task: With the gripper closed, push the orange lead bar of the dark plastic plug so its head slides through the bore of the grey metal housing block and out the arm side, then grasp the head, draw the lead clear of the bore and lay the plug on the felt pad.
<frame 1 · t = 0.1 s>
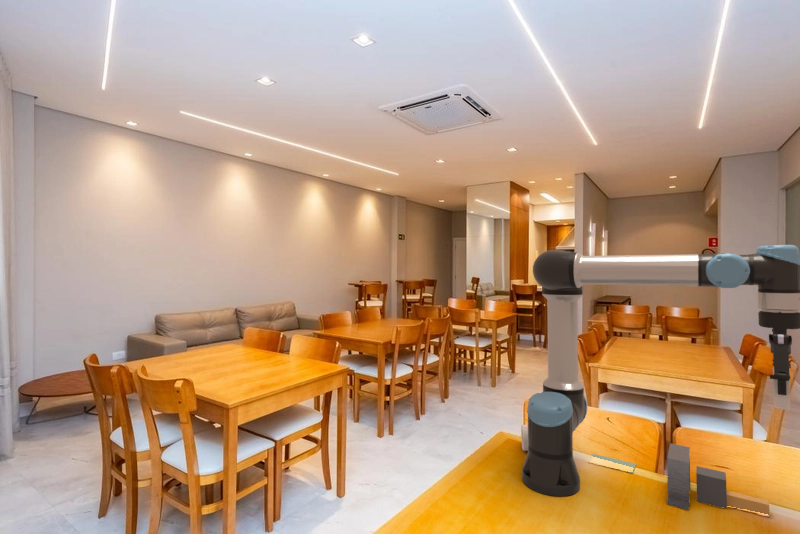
hand: (781, 401, 97), 28 cm above the table, fingers open, 13 cm apart
pad: (611, 463, 126), on the table
housing: (679, 492, 110), on the table
mug: (537, 448, 138), on the table
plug: (711, 500, 106), on the table
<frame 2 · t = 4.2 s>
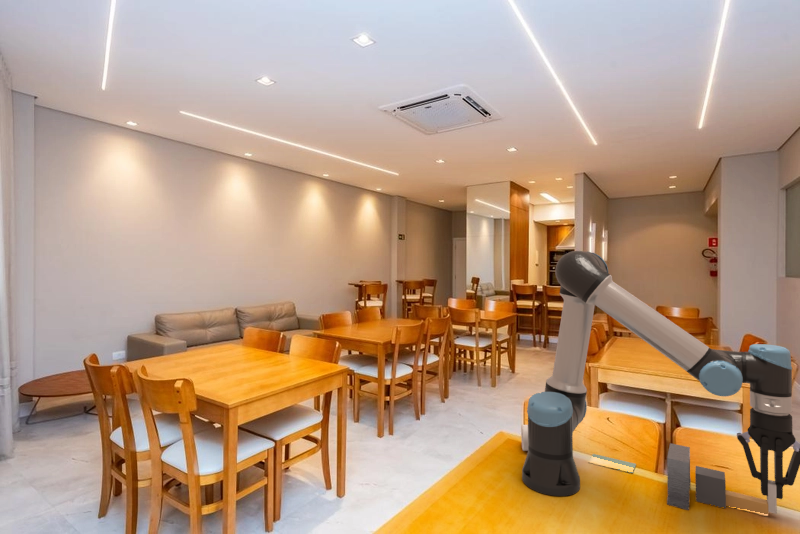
hand: (771, 509, 99), 1 cm above the table, fingers closed
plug: (710, 500, 106), on the table, touching gripper
everything else where it was.
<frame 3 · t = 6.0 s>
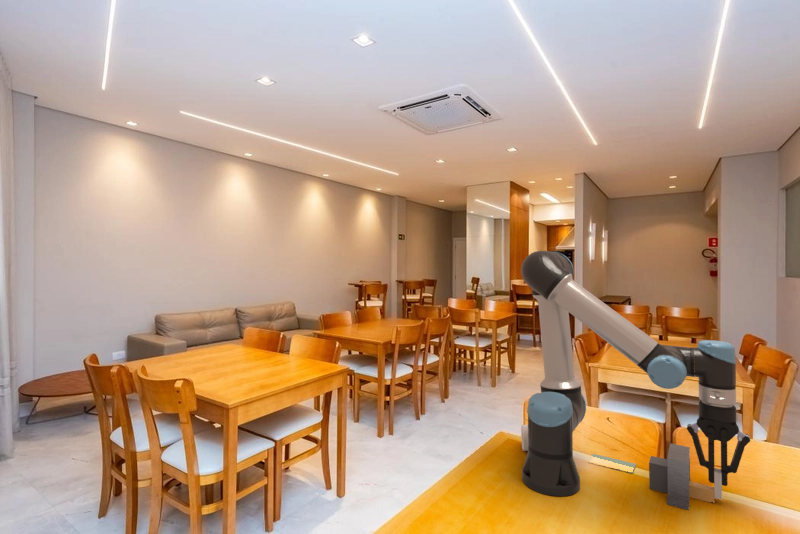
hand: (718, 496, 105), 1 cm above the table, fingers closed
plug: (663, 488, 112), on the table, touching gripper
everything else where it was.
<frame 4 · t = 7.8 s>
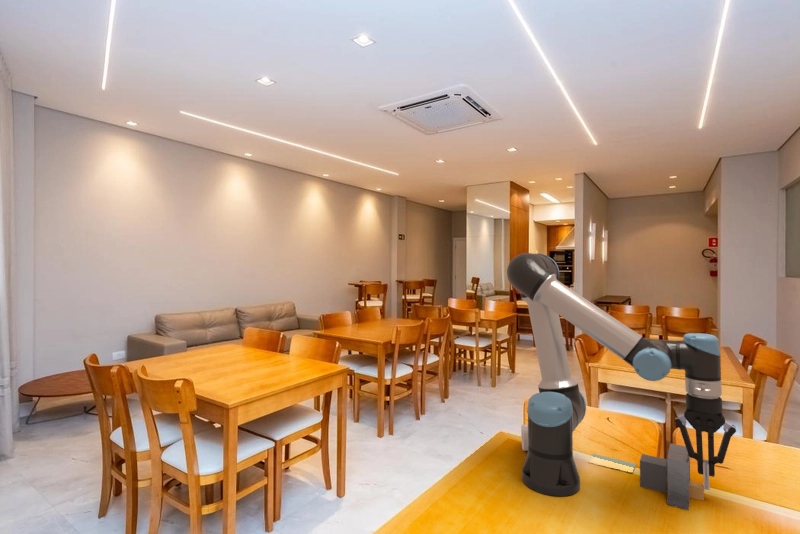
hand: (706, 487, 106), 3 cm above the table, fingers closed
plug: (653, 485, 113), on the table
everything else where it was.
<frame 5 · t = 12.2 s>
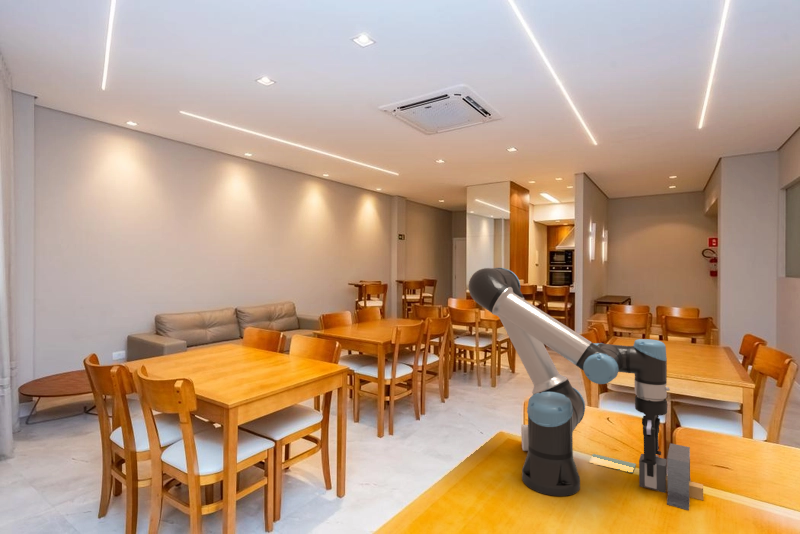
hand: (651, 482, 113), 1 cm above the table, fingers closed on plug, 5 cm apart
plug: (653, 485, 113), on the table, touching gripper
everything else where it was.
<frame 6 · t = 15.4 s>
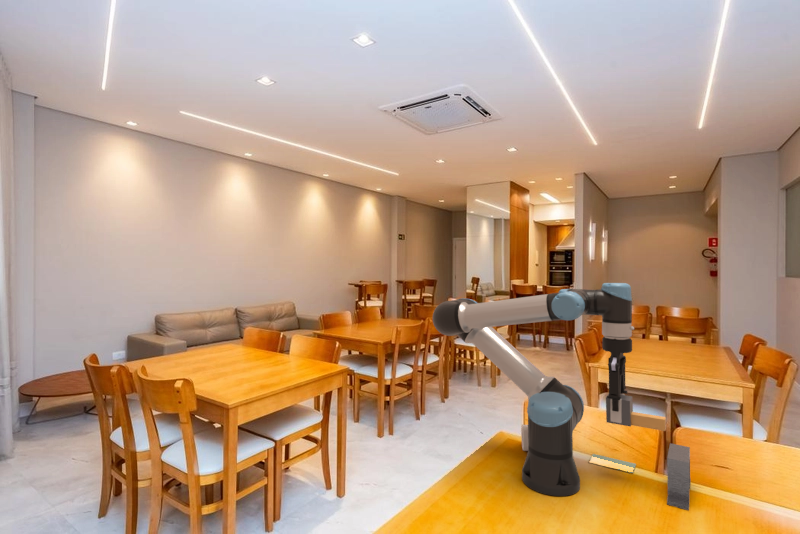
hand: (617, 418, 118), 16 cm above the table, fingers closed on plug, 5 cm apart
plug: (619, 421, 118), point 16 cm above the table, touching gripper
everything else where it was.
when the fingers open (2 cm above the table, at t = 18.6 s): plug drops 1 cm, resting on pad.
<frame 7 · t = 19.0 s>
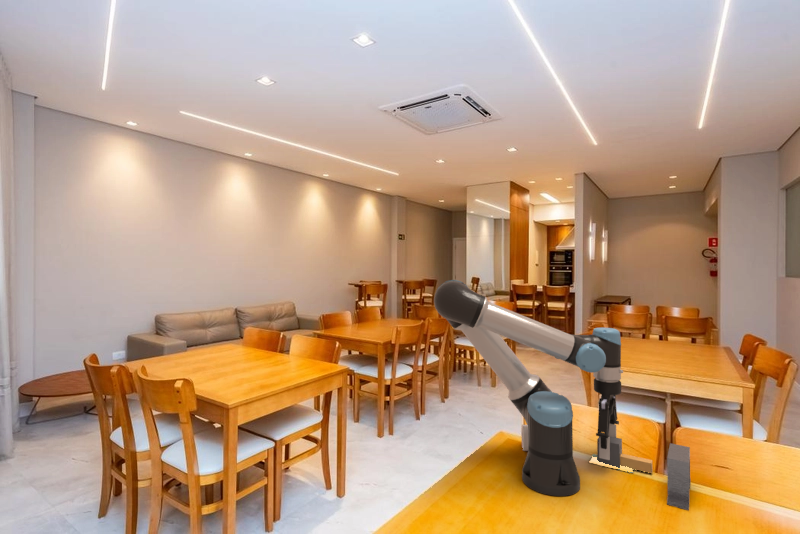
hand: (608, 451, 126), 3 cm above the table, fingers open, 11 cm apart
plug: (609, 462, 126), resting on pad
everything else where it was.
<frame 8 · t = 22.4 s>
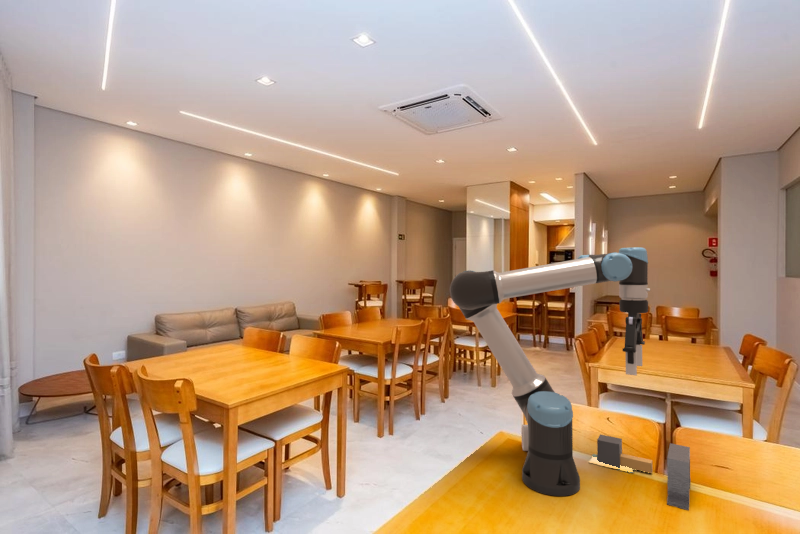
hand: (634, 370, 125), 29 cm above the table, fingers open, 13 cm apart
nothing on the table moved.
at the end: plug inside the target area (0.1 cm from its centre), on the table; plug touching pad; the gripper is holding nothing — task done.
